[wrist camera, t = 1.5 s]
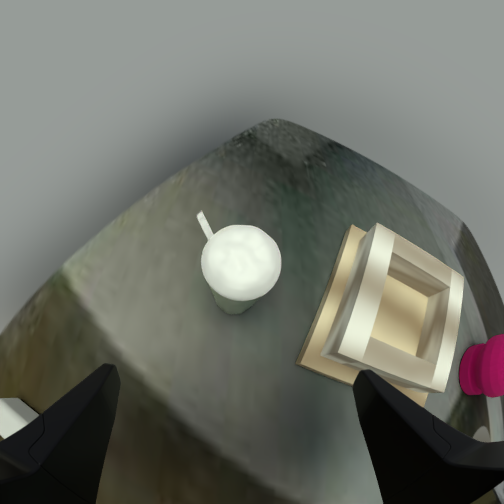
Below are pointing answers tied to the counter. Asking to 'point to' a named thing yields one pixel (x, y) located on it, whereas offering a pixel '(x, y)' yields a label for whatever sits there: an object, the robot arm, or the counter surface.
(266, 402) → the counter surface
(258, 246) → the milkshake
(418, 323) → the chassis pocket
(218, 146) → the counter surface
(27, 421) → the usb wall charger
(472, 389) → the pepper mill
